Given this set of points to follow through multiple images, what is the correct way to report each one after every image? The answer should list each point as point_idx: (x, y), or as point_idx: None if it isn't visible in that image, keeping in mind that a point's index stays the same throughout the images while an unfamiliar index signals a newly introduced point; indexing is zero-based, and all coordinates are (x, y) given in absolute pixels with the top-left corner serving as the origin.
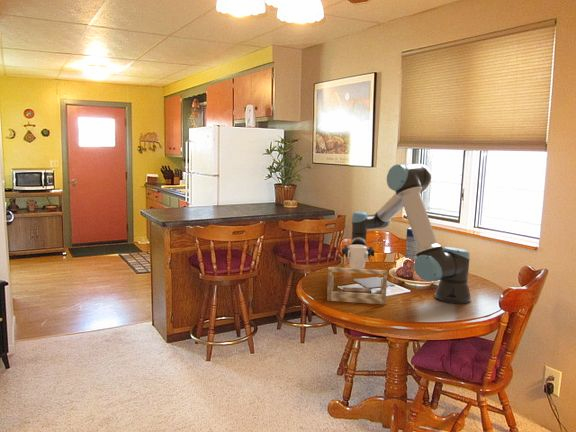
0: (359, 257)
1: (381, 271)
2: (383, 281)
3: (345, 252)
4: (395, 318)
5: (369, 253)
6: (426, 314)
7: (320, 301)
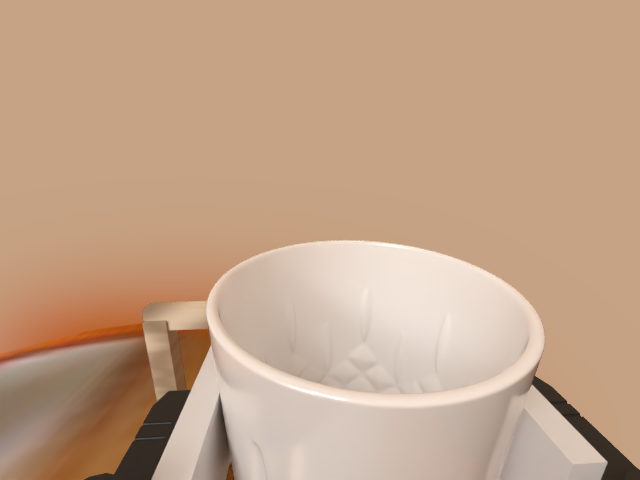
0: (321, 341)
1: (183, 304)
2: (178, 352)
3: (547, 386)
4: (198, 343)
5: (169, 405)
6: (60, 387)
7: None
